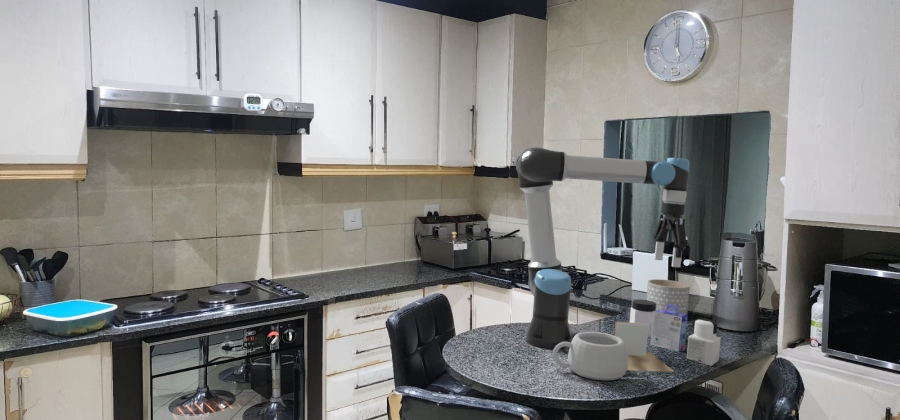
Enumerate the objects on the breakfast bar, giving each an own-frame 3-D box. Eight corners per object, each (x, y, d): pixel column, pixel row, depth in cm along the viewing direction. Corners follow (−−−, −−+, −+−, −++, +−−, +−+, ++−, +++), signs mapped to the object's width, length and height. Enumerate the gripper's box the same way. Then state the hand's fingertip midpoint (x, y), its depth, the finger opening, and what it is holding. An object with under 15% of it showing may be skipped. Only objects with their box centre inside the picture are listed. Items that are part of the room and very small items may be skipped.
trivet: (621, 372, 176) (621, 370, 176) (601, 352, 194) (601, 350, 194) (674, 373, 177) (674, 371, 177) (649, 353, 195) (650, 352, 195)
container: (693, 355, 197) (697, 315, 196) (718, 361, 192) (722, 320, 191) (685, 360, 191) (689, 319, 190) (711, 366, 186) (715, 325, 185)
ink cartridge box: (685, 350, 201) (689, 307, 200) (679, 353, 197) (683, 310, 196) (656, 343, 208) (660, 301, 207) (649, 346, 204) (653, 303, 202)
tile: (614, 354, 190) (617, 323, 189) (612, 352, 192) (615, 321, 191) (645, 355, 191) (648, 324, 190) (643, 353, 192) (646, 323, 192)
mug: (616, 363, 183) (619, 331, 182) (635, 384, 166) (637, 348, 165) (545, 360, 182) (548, 328, 181) (557, 381, 165) (559, 345, 164)
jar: (642, 339, 211) (645, 305, 210) (624, 333, 218) (627, 300, 217) (659, 336, 216) (662, 303, 215) (640, 330, 223) (643, 298, 222)
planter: (689, 320, 243) (692, 289, 242) (646, 315, 247) (649, 284, 246) (684, 311, 259) (687, 282, 258) (644, 306, 263) (646, 277, 262)
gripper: (702, 206, 198) (694, 270, 200) (667, 200, 223) (661, 257, 224) (680, 204, 197) (673, 269, 199) (648, 199, 222) (641, 256, 224)
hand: (666, 263), depth 212 cm, fingers open, 13 cm apart
